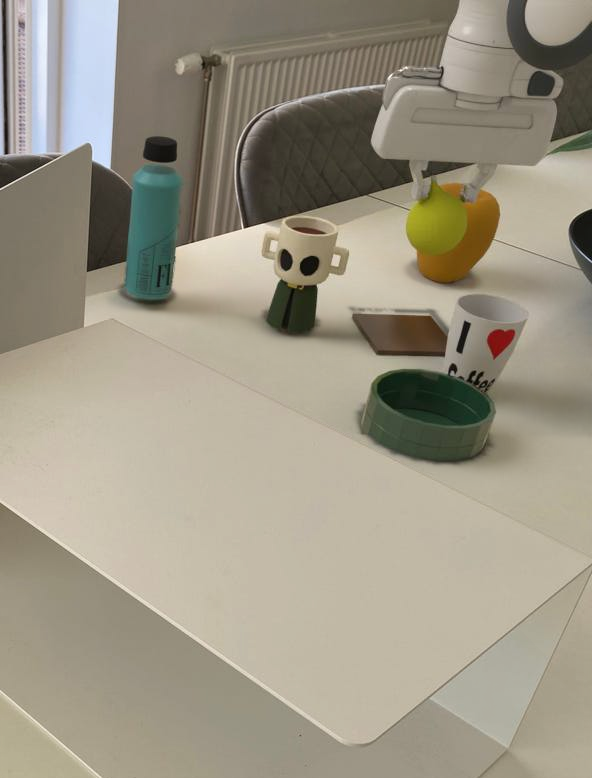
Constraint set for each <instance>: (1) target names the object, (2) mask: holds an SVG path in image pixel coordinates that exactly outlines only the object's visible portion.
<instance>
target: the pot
mask: <svg viewBox="0 0 592 778" xmlns="http://www.w3.org/2000/svg"><path fill="white" fill-rule="evenodd" d="M368 391H369V392H368V395H367V399H366V401H365V402H366V403H365V406H364V409H363V414H362V418H361V422H360V433H361V435H364V436H365V435H366V436H367V435H370V436H371V437H372V438H373V439H375V440H376V441H377V443H379V444H381V445H383V446H385V447H387V448H389V449H391V450H392V451H395V452H396V453H400V454H403V455H406V456H409V457H411V458H414V459H415V458H416V459H421V460H427V461H432V462H433V461H434V462H456V461H461V460H466V459H470V458H472V457H475V456H476V455H478V454H479V453H481V451H482V450H483V448H484V447H485V444H486V442H487V439H488V436H489V434H490V433H489V432H490V431H491V428H492V425H493V423H494V420H495V417H496V414H497V408H496V403H495V401H494V400H493V399H492V397H490V395H489V394H488V392H487V393H486V392H484V391H483V390H481V389H480V388H478V387H477V386H476V385H474V384H471V383H469V382H467V381H465V380H463V379H461V378H458V377H455V376H452V375H448V374H445V373H444V372H441V371H436V370H430V369H424V368H423V369H422V368H400V369H393V370H388V371H386V372H383V373H381V374H378V375H377V376H376V377H375V378H374V380H372V382H371V384H370V387H369V390H368Z"/></svg>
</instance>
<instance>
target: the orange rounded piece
mask: <svg viewBox="0 0 592 778" xmlns="http://www.w3.org/2000/svg"><path fill="white" fill-rule="evenodd" d="M462 185H463V183H460V182H450V183H444V184H440V185H439V187H440V188H441V189H442V190H444V191H446V192H448V193H450V194H452V195H454V196H456V197H457V198H459V195H460V193H461V192H462ZM461 202H462V201H461ZM462 203H463V202H462ZM463 205H464V206H465V208H466V212H467V228H466V231H465V234H464V236H463V238H462V239H461V241H460V242H459V243H458V244H457V245H456V246H455V247H454V248H453V249H451V250H450V251H448V252H446V253H443V254H439V255H427V254H423V253H421V252H419V251H417V250H416V260H417V261H416V262H417V266H418V271H419V272H420V273H421V274H422V276H424V277H425V278H427V279H429V280H431V281H433V282H436V283H442V284H447V283H454V282H456V281H459V280H461V279H463V278H465V277H466V276H467V274H468V273H469V272H471V270H472V269H473V268H474V267H475V266H476V265H477V263H479V262H480V260H482V258H483V257H485V255H486V253H487V252H488V251H489V249H490V247H491V246H492V243H493V241H494V239H495V238H496V237H495V236H496V233H497V230H498V229H499V224H500V219H501V210H500V209H501V208H500V204H499V202H498V199H497V197H495V196H494V195H493V194H492V193H490V192H488V191H486V190H485V189H484V190H483V189H482V188H480V191H479V194H478V197H477V200H476V202H475V203H463Z"/></svg>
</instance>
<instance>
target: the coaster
mask: <svg viewBox="0 0 592 778" xmlns="http://www.w3.org/2000/svg"><path fill="white" fill-rule="evenodd" d="M351 319H352V320H353V322H354V323H355V324H356V326H357V327H358V329H359V331H360V332H361V333H362V335H363V337H364V338H365V340H366V341H367V342H368V344H369V346H370V347H371V348H372V349H373V352H374V353H375V354H376V355H379V356H381V355H383V356H384V355H385V356H425V357H426V356H427V357H428V356H429V357H445V353H446V346H447V339H448V334H447V333H446V332H445V331H444V330H443V329H442V328H441V327H440V325H439V324H438V323H437V322H436V321H435V319H434V318H433V317H432V315H425V314H419V315H417V314H386V313H384V314H383V313H352V316H351Z"/></svg>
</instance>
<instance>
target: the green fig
mask: <svg viewBox="0 0 592 778" xmlns="http://www.w3.org/2000/svg"><path fill="white" fill-rule="evenodd" d="M432 166H433V167H431V172H432V173H434V172H433V169H432V168H434V165H432ZM429 177H430V184H429V185H430V186H431V188H430V191H429V193H428V198H427V200H426V201H419V200H418V201H417V200H416V202H415V203H414V204H413V205H412V206H411V208H410V210H409V212H408V215H407V217H406V222H405V233H406V236H407V239H408V241H409V243H410V245H411V246H412V247H413V248H414V249H415V250H416V252H417V251H419V252H421V253H423V254H427V255H439V254H443V253H446V252H448V251H450V250H451V249H453V248H454V247H455V246H456V245H457V244H458V243H459V242H460V241H461V239H462V238H463V236H464V234H465V231H466V228H467V212H466V208H465V206H464V205H463V203H462V202H461V200H460V199H459V198H457V197H456V196H454V195H452V194H450V193H448V192H446V191H444V190H442V189H441V188H440V187H439V186H440V185H439V184H438V181H437V175H436V174H432V175H430V176H429Z"/></svg>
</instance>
